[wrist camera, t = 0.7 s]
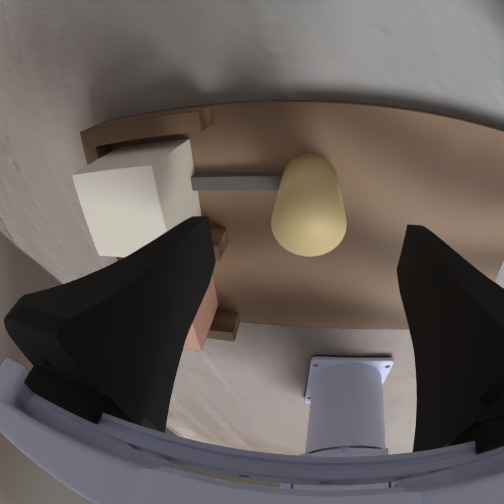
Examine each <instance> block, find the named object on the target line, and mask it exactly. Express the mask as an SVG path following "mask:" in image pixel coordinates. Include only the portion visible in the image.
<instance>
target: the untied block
mask: <svg viewBox="0 0 504 504" xmlns="http://www.w3.org/2000/svg"><path fill="white" fill-rule="evenodd" d="M217 307H218V300H217V295H216V290H215V285H214V280H213V275H212V278H211V281H210V284H209V287H208V289H207V291H206V294H205V296H204V298H203V300H202V303H201V305H200V307H199V309H198V312H197V314H196V316H195V318H194V321H193V323H192V325H191V328H190V330H189V332H188V335H187V338H186V341H185V344H184V347H183V348H185V349H191V350H197V351H202V348H203V345H204V342H205V340H206V337H207V334H208V331H209V329H210V326H211V323H212V321H213V318H214V315H215V312H216V310H217Z"/></svg>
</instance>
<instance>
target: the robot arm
mask: <svg viewBox="0 0 504 504" xmlns="http://www.w3.org/2000/svg"><path fill="white" fill-rule="evenodd" d="M215 263H216V259H215V253H214V247H213V242H212V236H211V230H210V224H209V217H208V216H192V217H190V218H188V219H186V220H185V221H183V222H181V223H179V224H178V225H176V226H175V227H173V228H172V229H170V230H168V231H167V232H165V233H164V234H162V235H161V236H159V237H158V238H156V239H155V240H153V241H151V242H150V243H148V244H146V245H145V246H143V247H141V248H140V249H138V250H137V251H135V252H133V253H132V254H130V255H128V256H126V257H124V258H123V259H121V260H119V261H117V262H115V263H113V264H111V265H109V266H107V267H105V268H103V269H100V270H98V271H96V272H93V273H91V274H89V275H87V276H84V277H82V278H79V279H77V280H74V281H71V282H68V283H65V284H62V285H59V286H56V287H53V288H50V289H46V290H42V291H39V292H34V293H31V294H26V295H24V296H23V297H21V298H20V299H19V300H18V302H17V303H16V304H15V305H14V307H13V308H12V309H11V310H10V311H9V313H8V314H7V315H6V316H5V319H4V324H5V328H6V330H7V332H8V334H9V336H10V337H11V338H12V340H13V341H14V343H15V344H16V345H17V346H18V347H19V349H20V350H21V351H22V352H23V354H24V355H25V356H26V357H27V359H28V360H29V361H30V362H31V363H32V364H33V365H34V367H33V368H32V370H31V371H30V372H29V371H28V370H27V369H26V368H24V367H23V366H21V365H20V364H18V363H16V362H14V361H12V360H11V359H9V358H6V359H5V361H4V362H3V364H2V365H1V367H0V432H1V433H2V434H3V435H4V436H5V437H6V438H7V439H8V440H9V441H11V442H12V443H13V444H14V445H15V446H16V447H17V448H18V449H19V450H21V451H22V452H23V453H24V454H25V455H26V456H28V457H29V458H30V459H31V460H32V461H34V462H35V463H36V464H38V465H39V466H40V467H41V468H42V469H44V470H45V471H46V472H48V473H49V474H50V475H52V476H53V477H54V478H56V479H57V480H59V481H60V482H61V483H63V484H64V485H66V486H67V487H69V488H70V489H72V490H73V491H75V492H76V493H78V494H80V495H81V496H83V497H84V498H86V499H88V500H89V501H91V502H93V503H95V504H504V289H503V288H502V287H501V286H499V285H498V284H496V283H495V282H494V281H492V280H491V279H489V278H488V277H487V276H485V275H484V274H483V273H481V272H480V271H479V270H478V269H476V268H475V267H474V266H473V265H471V264H470V263H469V262H468V261H467V260H465V259H464V258H463V257H462V256H461V255H459V254H458V253H457V252H456V251H455V250H453V249H452V248H451V247H450V246H449V245H448V244H446V243H445V242H444V241H443V240H442V239H440V238H439V237H438V236H437V235H435V234H434V233H433V232H432V231H430V230H429V229H427V228H426V227H424V226H423V225H411V224H407V228H406V233H405V237H404V242H403V246H402V250H401V254H400V258H399V262H398V266H397V270H396V271H397V278H398V284H399V291H400V296H401V299H402V303H403V307H404V311H405V314H406V318H407V322H408V326H409V330H410V334H411V338H412V343H413V348H414V354H415V366H416V382H417V412H416V428H415V438H414V446H413V452H411V453H402V454H392V455H388V448H385V421H384V403H383V388H382V384H383V383H384V381H385V379H386V377H387V375H388V373H389V371H390V369H391V367H392V366H393V364H394V360H393V358H348V357H319V356H315V357H313V358H312V359H311V364H310V371H309V377H308V383H307V390H306V395H305V403H307V404H310V412H309V422H308V432H307V441H306V450H305V454H300V456H296V455H283V454H273V453H264V452H256V451H248V450H242V449H235V448H229V447H224V446H218V445H213V444H208V443H203V442H199V441H194V440H190V439H186V438H182V437H178V436H174V435H170V434H167V433H165V428H166V422H167V415H168V409H169V404H170V399H171V394H172V390H173V385H174V381H175V377H176V373H177V369H178V365H179V361H180V358H181V354H182V351H183V347H184V344H185V341H186V338H187V335H188V332H189V330H190V328H191V325H192V323H193V321H194V318H195V316H196V314H197V312H198V309H199V307H200V305H201V303H202V300H203V298H204V296H205V294H206V291H207V289H208V287H209V284H210V281H211V278H212V274H213V271H214V267H215ZM157 458H158V459H157ZM160 459H161V460H160ZM162 460H165V461H168V462H171V463H175V464H178V465H182V466H186V467H190V468H194V469H198V470H202V471H207V472H211V473H216V474H221V475H226V476H232V477H237V478H244V479H251V480H257V481H265V482H275V483H280V488H273V487H264V486H257V485H249V484H243V483H237V482H231V481H225V480H220V479H215V478H211V477H206V476H202V475H198V474H194V473H189V472H185V471H180V470H175V469H174V468H173V467H172V465H171V464H170V463H167V462H165V461H162Z"/></svg>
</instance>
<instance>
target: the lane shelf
mask: <svg viewBox="0 0 504 504" xmlns="http://www.w3.org/2000/svg"><path fill="white" fill-rule="evenodd" d="M80 134H81V139H82V143H83V147H84V152H85V156H86V160H87V164H88V165H89V164H91V163H92V162H94V161H96V160H97V159H99V158H101V157H102V156H104V155H106V154H108V153H109V152H111V151H113V150H115V149H116V148H120V147H126V146H133V145H140V144H147V143H155V142H164V141H173V140H183V139H190V145H191V152H192V159H193V165H194V172H195V174H208V173H283V171H284V168H285V166H286V165H287V163H288V162H289V161H290V160H292V159H293V158H294V157H296V156H298V155H301V154H306V153H312V154H317V155H320V156H322V157H324V158H326V159H327V160H328V161H329V162H330V163H331V164H332V165H333V167H334V168H335V170H336V173H337V177H338V182H339V186H340V191H341V196H342V200H343V205H344V210H345V215H346V222H347V226H346V232H345V235H344V237H343V239H342V241H341V242H340V243H339V244H338V246H337V247H335V248H334V249H333V250H331V251H330V252H328V253H326V254H323V255H319V256H312V257H307V256H300V255H297V254H294V253H291V252H289V251H288V250H286V249H285V248H283V247H282V246H281V245H280V244H279V243H278V241H277V240H276V238H275V237H274V234H273V232H272V228H271V218H272V214H273V210H274V206H275V202H276V198H277V194H278V191H272V190H209V191H198V197H199V203H200V209H201V215H202V216H208V217H209V224H210V230H211V236H212V242H213V247H214V253H215V259H216V263H215V267H214V271H213V274H212V275H213V280H214V285H215V290H216V295H217V300H218V307H217V310H216V312H215V315H214V318H213V321H212V323H211V326H210V329H209V331H208V334H207V337H206V338H212V339H220V340H228V341H234V340H235V337H236V333H237V330H238V326H239V323H240V322H248V323H259V324H272V325H285V326H301V327H320V328H345V329H409V326H408V322H407V318H406V314H405V311H404V307H403V303H402V299H401V296H400V291H399V284H398V278H397V271H396V270H397V266H398V262H399V258H400V254H401V250H402V246H403V242H404V237H405V233H406V228H407V224H411V225H423V226H424V227H426V228H427V229H429V230H430V231H432V232H433V233H434V234H435V235H437V236H438V237H439V238H440V239H442V240H443V241H444V242H445V243H446V244H448V245H449V246H450V247H451V248H452V249H453V250H455V251H456V252H457V253H458V254H459V255H461V256H462V257H463V258H464V259H465V260H467V261H468V262H469V263H470V264H471V265H473V266H474V267H475V268H476V269H478V270H479V271H480V272H481V273H483V274H484V275H485V276H487V277H488V278H489V279H491V280H492V281H495V279H496V277H497V275H498V272H499V270H500V268H501V265H502V263H503V261H504V130H501V129H498V128H494V127H491V126H487V125H483V124H480V123H476V122H472V121H468V120H464V119H460V118H455V117H451V116H446V115H441V114H436V113H430V112H425V111H419V110H413V109H406V108H399V107H392V106H384V105H375V104H364V103H352V102H337V101H312V100H273V101H247V102H232V103H219V104H209V105H199V106H191V107H183V108H176V109H169V110H163V111H157V112H151V113H145V114H140V115H135V116H130V117H125V118H120V119H116V120H111V121H107V122H103V123H101V124H98V125H96V126H93V127H91V128H89V129H86V130H84V131H82V132H80ZM123 258H124V257H117V259H118V261H119V260H121V259H123Z"/></svg>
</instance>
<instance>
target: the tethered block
mask: <svg viewBox="0 0 504 504" xmlns="http://www.w3.org/2000/svg"><path fill="white" fill-rule="evenodd" d="M72 177H73V181H74V184H75V188H76V191H77V194H78V198H79V201H80V204H81V207H82V210H83V213H84V216H85V219H86V222H87V225H88V227H89V230H90V233H91V236H92V238H93V241H94V244H95V246H96V249H97V251H98V254H99V256H112V257H126V256H128V255H130V254H132V253H133V252H135V251H137V250H138V249H140V248H141V247H143V246H145V245H146V244H148V243H150V242H151V241H153V240H155V239H156V238H158V237H159V236H161V235H162V234H164V233H165V232H167V231H168V230H170V229H172V228H173V227H175V226H176V225H178V224H179V223H181V222H183V221H185V220H186V219H188V218H190V217H192V216H202V215H201V209H200V203H199V197H198V191H209V190H272V191H278V194H277V198H276V202H275V206H274V210H273V214H272V218H271V228H272V232H273V234H274V237H275V238H276V240H277V241H278V243H279V244H280V245H281V246H282V247H283V248H285V249H286V250H288V251H289V252H291V253H294V254H297V255H300V256H307V257H312V256H319V255H323V254H326V253H328V252H330V251H331V250H333V249H334V248H335V247H337V246H338V244H339V243H340V242H341V241H342V239H343V237H344V235H345V232H346V226H347V222H346V215H345V210H344V205H343V200H342V196H341V191H340V186H339V182H338V177H337V173H336V170H335V168H334V167H333V165H332V164H331V163H330V162H329V161H328V160H327V159H326V158H324V157H322V156H320V155H317V154H312V153H306V154H301V155H298V156H296V157H294V158H293V159H292V160H290V161H289V162H288V163H287V165H286V166H285V168H284V171H283V173H208V174H195V172H194V165H193V159H192V152H191V145H190V139H183V140H173V141H164V142H155V143H147V144H140V145H133V146H126V147H120V148H116V149H115V150H113V151H111V152H109V153H108V154H106V155H104V156H102V157H101V158H99V159H97V160H96V161H94V162H92V163H91V164H89V165H87V166H86V167H84V168H83V169H81V170H79V171H78V172H76V173H75V174H73V175H72Z"/></svg>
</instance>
